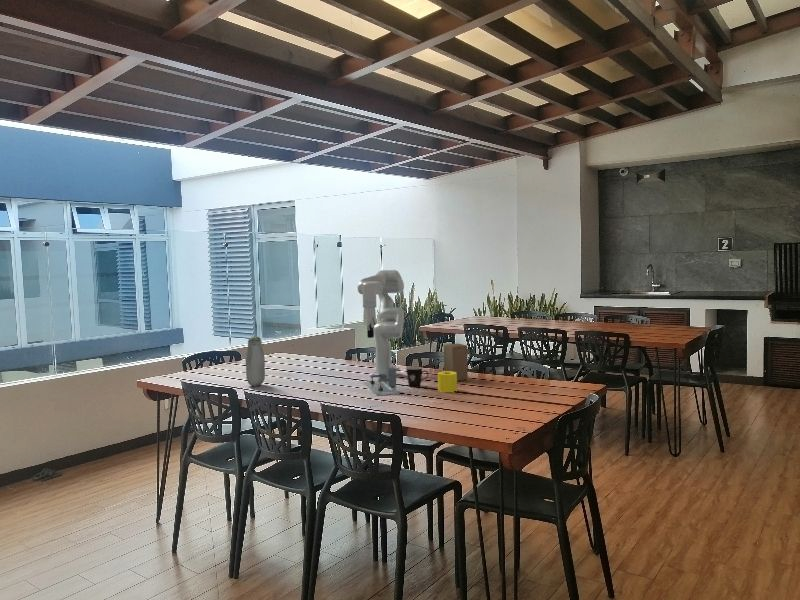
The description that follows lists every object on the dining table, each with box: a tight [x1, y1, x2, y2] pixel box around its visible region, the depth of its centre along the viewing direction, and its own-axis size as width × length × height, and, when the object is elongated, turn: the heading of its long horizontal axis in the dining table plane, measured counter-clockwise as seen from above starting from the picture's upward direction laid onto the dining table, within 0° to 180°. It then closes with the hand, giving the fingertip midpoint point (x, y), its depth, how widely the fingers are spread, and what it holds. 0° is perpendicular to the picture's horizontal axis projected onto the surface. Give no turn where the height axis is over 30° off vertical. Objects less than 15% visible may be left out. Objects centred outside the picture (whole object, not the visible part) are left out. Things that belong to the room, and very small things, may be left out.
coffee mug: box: [406, 366, 429, 388], centre depth 333 cm, size 12×9×10 cm
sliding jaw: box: [377, 367, 397, 387], centre depth 320 cm, size 9×5×9 cm, turn 106°
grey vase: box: [245, 335, 266, 387], centre depth 343 cm, size 10×10×28 cm
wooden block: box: [443, 343, 469, 381], centre depth 350 cm, size 10×10×20 cm
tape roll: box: [437, 370, 458, 393], centre depth 321 cm, size 10×10×9 cm
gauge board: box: [363, 374, 400, 397], centre depth 329 cm, size 12×30×6 cm, turn 16°
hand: (370, 337), depth 339 cm, fingers closed
